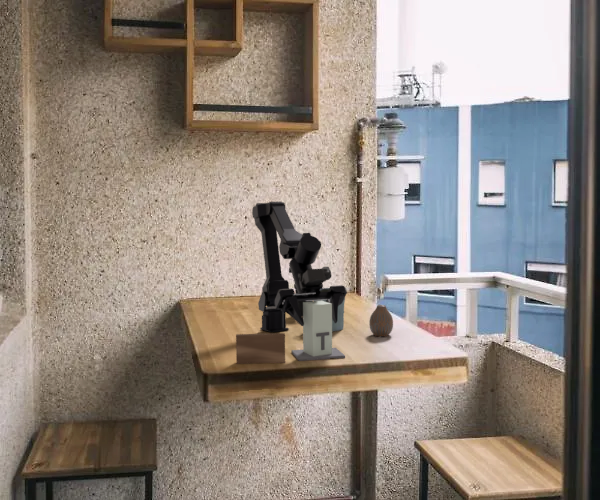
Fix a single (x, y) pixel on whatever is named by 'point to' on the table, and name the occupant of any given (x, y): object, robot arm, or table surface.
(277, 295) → the robot arm
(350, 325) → the table surface
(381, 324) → the vase
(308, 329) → the pale green block
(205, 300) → the table surface
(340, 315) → the blue-grey pot
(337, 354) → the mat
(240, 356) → the walnut screen
